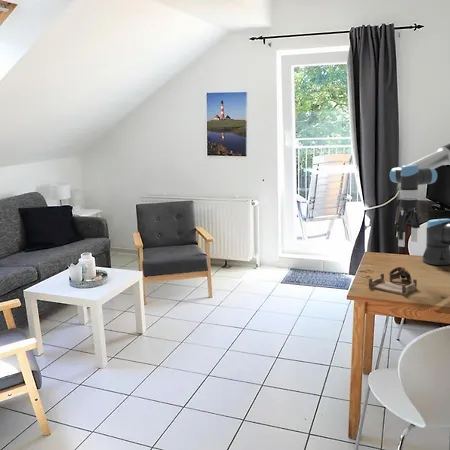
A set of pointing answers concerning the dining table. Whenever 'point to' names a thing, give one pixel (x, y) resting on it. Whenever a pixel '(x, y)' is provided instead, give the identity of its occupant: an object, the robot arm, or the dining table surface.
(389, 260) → the dining table surface
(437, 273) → the dining table surface
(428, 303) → the dining table surface
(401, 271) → the pottery mug
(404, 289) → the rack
